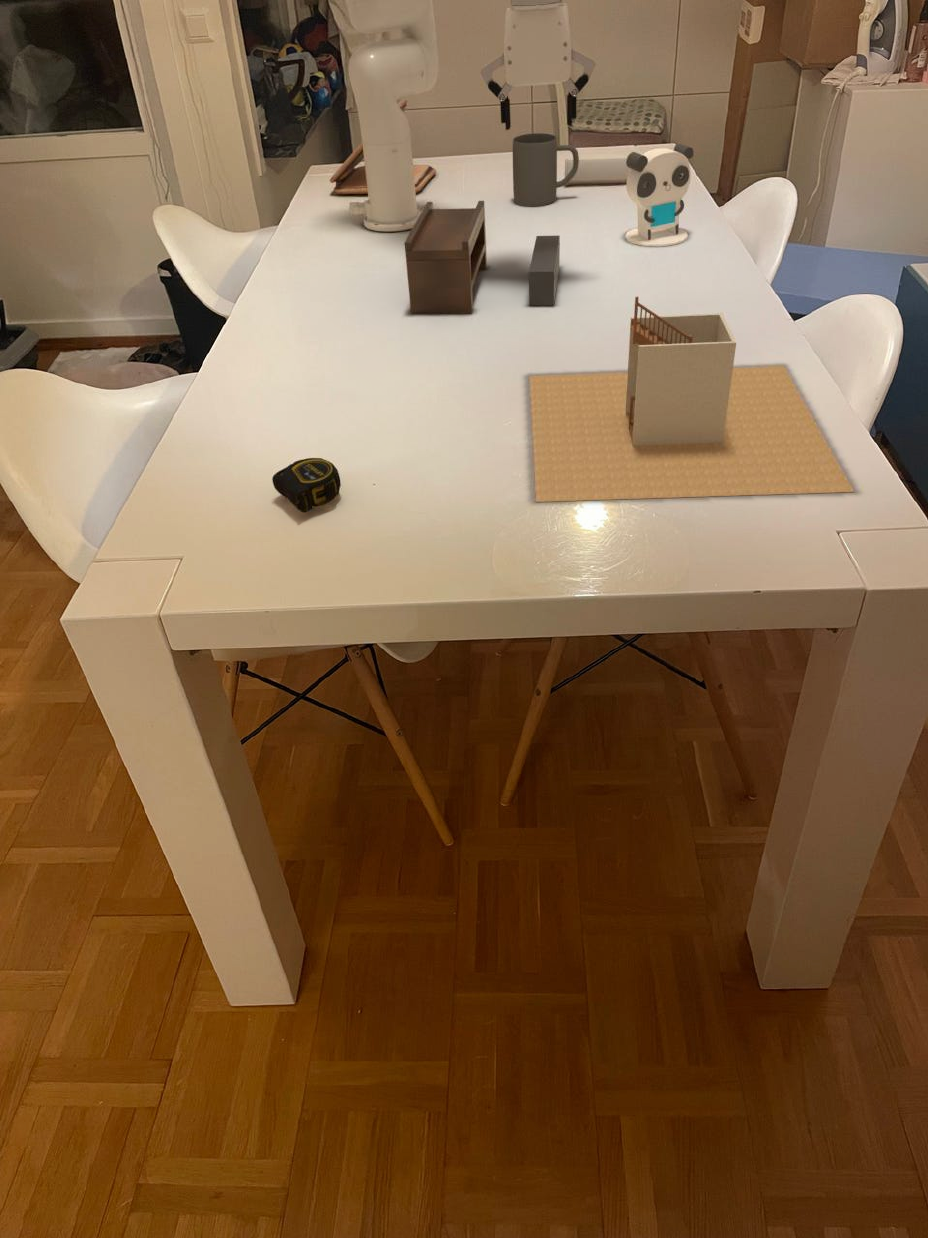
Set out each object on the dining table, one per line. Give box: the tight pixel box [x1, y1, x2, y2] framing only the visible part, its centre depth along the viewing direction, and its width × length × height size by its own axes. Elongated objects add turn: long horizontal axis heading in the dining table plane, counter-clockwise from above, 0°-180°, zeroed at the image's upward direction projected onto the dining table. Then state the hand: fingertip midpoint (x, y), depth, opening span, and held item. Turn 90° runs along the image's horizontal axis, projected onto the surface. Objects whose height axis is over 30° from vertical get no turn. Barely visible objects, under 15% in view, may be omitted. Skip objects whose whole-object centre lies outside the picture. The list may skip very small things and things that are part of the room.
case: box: [329, 98, 437, 195], centre depth 207 cm, size 20×21×16 cm
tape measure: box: [271, 457, 342, 513], centre depth 106 cm, size 7×7×4 cm
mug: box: [512, 132, 580, 207], centre depth 191 cm, size 14×9×12 cm
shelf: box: [403, 200, 488, 315], centre depth 154 cm, size 10×22×11 cm, turn 173°
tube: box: [564, 157, 631, 187], centre depth 201 cm, size 5×5×25 cm
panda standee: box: [625, 143, 694, 248], centre depth 168 cm, size 12×11×15 cm
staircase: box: [624, 296, 737, 446], centre depth 110 cm, size 9×11×17 cm
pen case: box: [528, 235, 561, 307], centre depth 154 cm, size 4×18×6 cm, turn 173°
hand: (538, 125), depth 145 cm, fingers open, 9 cm apart
